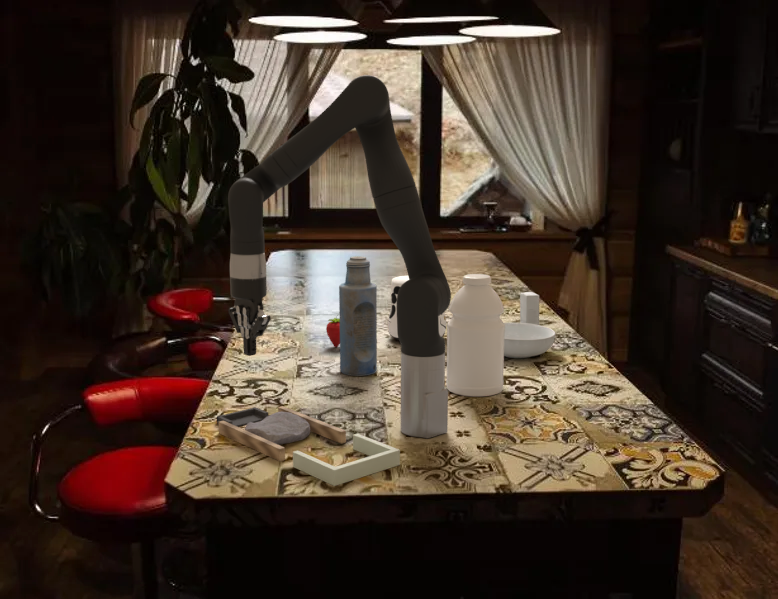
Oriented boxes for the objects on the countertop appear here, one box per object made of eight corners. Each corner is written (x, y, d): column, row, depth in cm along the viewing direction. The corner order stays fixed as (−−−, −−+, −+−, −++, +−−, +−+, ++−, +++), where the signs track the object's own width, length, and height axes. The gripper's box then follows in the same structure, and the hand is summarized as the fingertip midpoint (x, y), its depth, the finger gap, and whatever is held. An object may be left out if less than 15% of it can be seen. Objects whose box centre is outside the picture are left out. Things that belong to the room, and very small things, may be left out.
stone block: (314, 443, 202) (281, 424, 208) (317, 423, 200) (283, 405, 206) (273, 461, 193) (240, 441, 199) (276, 440, 191) (242, 420, 197)
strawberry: (345, 343, 280) (345, 310, 278) (348, 350, 272) (347, 315, 270) (325, 344, 279) (325, 310, 277) (327, 350, 271) (326, 316, 270)
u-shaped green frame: (399, 464, 184) (399, 449, 184) (334, 485, 174) (334, 470, 173) (357, 447, 194) (357, 433, 193) (293, 466, 183) (292, 451, 183)
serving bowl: (520, 368, 254) (521, 342, 253) (463, 353, 270) (464, 329, 268) (570, 355, 268) (571, 331, 266) (513, 341, 283) (514, 318, 282)
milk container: (458, 341, 283) (459, 280, 280) (410, 349, 274) (410, 286, 270) (423, 330, 297) (423, 272, 294) (376, 337, 288) (376, 278, 284)
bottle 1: (348, 378, 244) (347, 261, 238) (334, 368, 253) (333, 255, 247) (382, 374, 248) (382, 258, 242) (368, 365, 256) (368, 253, 251)
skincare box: (539, 334, 292) (541, 295, 290) (525, 335, 291) (526, 295, 289) (532, 329, 298) (533, 291, 296) (518, 330, 297) (519, 291, 295)
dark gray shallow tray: (268, 418, 212) (268, 412, 211) (229, 428, 205) (229, 421, 205) (255, 413, 215) (255, 407, 215) (216, 423, 209) (216, 416, 208)
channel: (345, 442, 197) (345, 430, 196) (279, 461, 186) (279, 449, 186) (282, 417, 213) (282, 406, 212) (218, 433, 202) (218, 421, 202)
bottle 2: (438, 393, 231) (440, 278, 225) (454, 379, 243) (456, 269, 238) (496, 400, 226) (499, 282, 220) (509, 384, 239) (512, 273, 233)
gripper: (281, 276, 199) (282, 357, 202) (245, 268, 208) (247, 346, 212) (250, 280, 194) (252, 363, 197) (215, 272, 204) (218, 351, 207)
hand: (249, 354), depth 205 cm, fingers closed
